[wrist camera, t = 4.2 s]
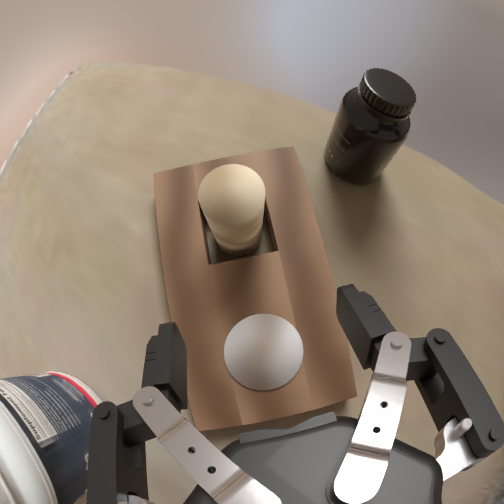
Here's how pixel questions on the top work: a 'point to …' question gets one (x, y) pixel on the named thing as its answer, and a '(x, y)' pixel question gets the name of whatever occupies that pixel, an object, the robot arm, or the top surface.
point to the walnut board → (253, 302)
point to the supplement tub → (44, 438)
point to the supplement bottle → (370, 126)
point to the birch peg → (233, 207)
